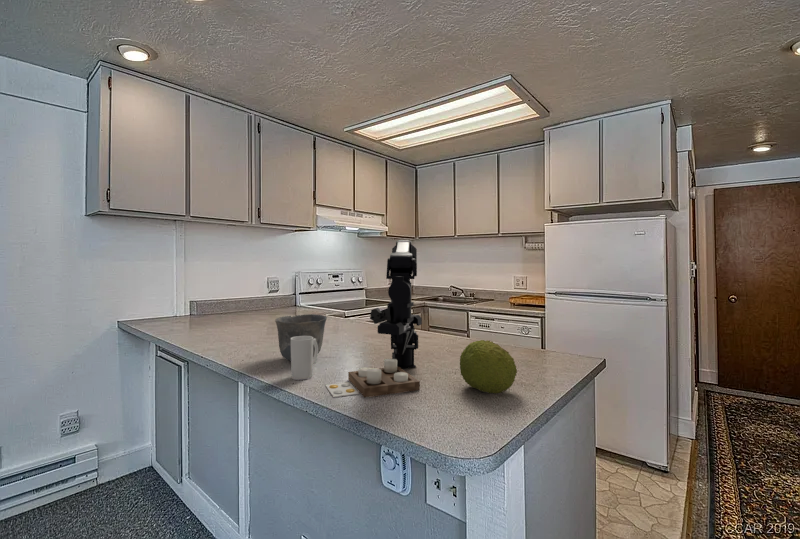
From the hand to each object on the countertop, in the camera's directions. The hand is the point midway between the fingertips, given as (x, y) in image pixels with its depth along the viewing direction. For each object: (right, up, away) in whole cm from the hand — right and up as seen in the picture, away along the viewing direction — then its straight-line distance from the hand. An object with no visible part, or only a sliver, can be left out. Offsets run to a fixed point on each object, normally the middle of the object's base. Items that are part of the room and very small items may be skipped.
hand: (400, 354), depth 111 cm
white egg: (-10, -9, +5) cm, 14 cm away
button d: (-7, -7, -3) cm, 10 cm away
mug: (-29, -9, +11) cm, 33 cm away
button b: (0, -9, +1) cm, 9 cm away
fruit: (+24, -10, -2) cm, 26 cm away
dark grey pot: (-35, -9, +30) cm, 47 cm away
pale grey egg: (-3, -7, +8) cm, 11 cm away
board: (-5, -9, +3) cm, 11 cm away
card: (-16, -9, -2) cm, 19 cm away
